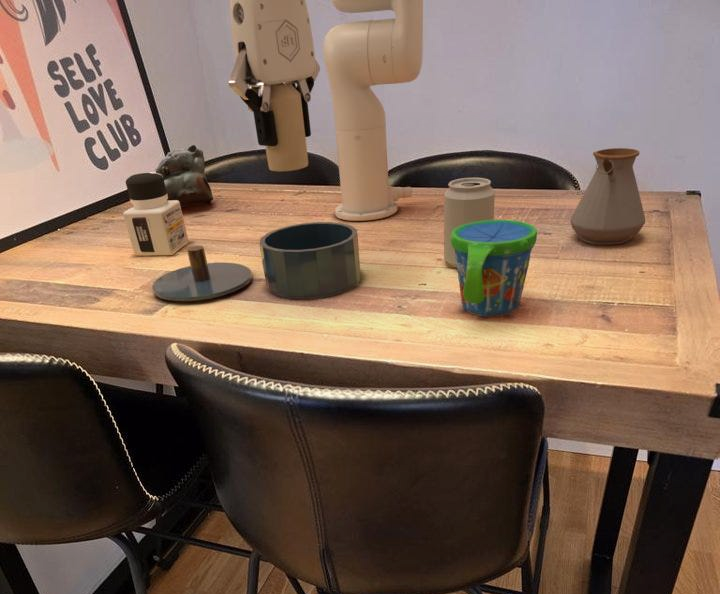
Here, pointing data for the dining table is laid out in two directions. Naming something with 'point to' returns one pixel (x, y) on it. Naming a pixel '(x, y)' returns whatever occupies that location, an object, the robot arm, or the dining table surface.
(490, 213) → the can
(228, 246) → the dining table surface
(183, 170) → the grey lumpy figure
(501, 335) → the dining table surface
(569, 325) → the dining table surface
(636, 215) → the coffee pot
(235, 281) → the lid
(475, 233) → the snack cup
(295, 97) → the candle
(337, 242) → the bowl
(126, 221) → the container
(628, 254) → the dining table surface
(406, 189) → the robot arm
